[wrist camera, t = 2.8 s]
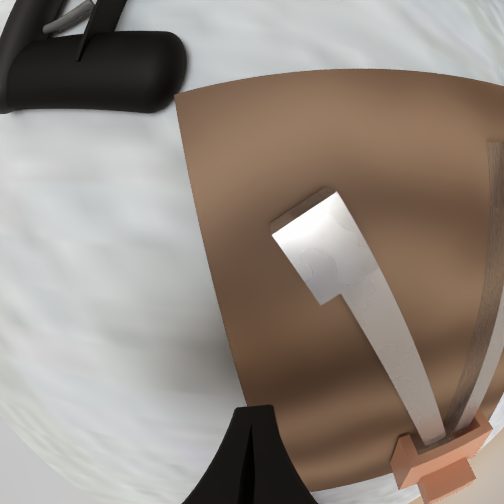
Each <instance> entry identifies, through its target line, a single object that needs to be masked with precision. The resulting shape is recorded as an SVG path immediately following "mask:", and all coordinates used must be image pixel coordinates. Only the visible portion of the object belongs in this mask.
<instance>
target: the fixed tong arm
mask: <svg viewBox="0 0 504 504" xmlns="http://www.w3.org/2000/svg"><path fill="white" fill-rule="evenodd" d="M487 152H488V164H489V183H490V220H489V239H488V251H487V261H486V270H485V277H484V284H483V290H482V296H481V302H480V307H479V312H478V317H477V321H476V325H475V330H474V334H473V338H472V342H471V345H470V349H469V352H468V356H467V359H466V362H465V366H464V369H463V372H462V375H461V378H460V381H459V384H458V386H457V389H456V392H455V395H454V397H453V400H452V402H451V405H450V407H449V410H448V412H447V414H446V417H445V419H444V421H443V426H444V429H445V433H446V436H445V437H443V438H442V439H440V440H438V441H437V442H438V444H439V446H442V445H444V444H446V443H449V442H451V441H453V440H455V439H457V438H459V437H461V436H463V435H465V433H466V431H467V429H468V428H469V426H470V424H471V422H472V420H473V418H474V416H475V414H476V412H477V410H478V408H479V406H480V404H481V402H482V400H483V398H484V396H485V393H486V391H487V389H488V387H489V384H490V382H491V379H492V377H493V375H494V372H495V369H496V367H497V364H498V362H499V359H500V356H501V353H502V350H503V347H504V143H499V142H487Z"/></svg>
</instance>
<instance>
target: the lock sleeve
mask: <svg viewBox="0 0 504 504" xmlns="http://www.w3.org/2000/svg"><path fill="white" fill-rule="evenodd" d="M492 429H493V428H492V426H491V425H490V423H489V422H488V420H487V419H486V417H485V416H484V414H483V413H482V411H481V410H480V408H478V410H477V412H476V414H475V416H474V418H473V420H472V422H471V424H470V426H469V428H468V429H467V431H466V433H465V435H463V436H461V437H459V438H457V439H455V440H453V441H451V442H449V443H446V444H444V445H442V446H440V447H437V448H435V449H433V450H430V451H428V452H425V453H423V454H420V455H418V453H417V451H416V448H415V446H414V444H413V442H412V439H411V437H410V435H407V436H404V437H401V438H399V440H398V443H397V446H396V448H395V451H394V454H393V457H392V459H391V462H390V465H391V468H392V471H393V474H394V477H395V480H396V483H397V486H398V489H399V490H401V489H403V488H406V487H409V486H412V485H414V484H417V485H418V488H419V490H420V493H421V496H422V498H423V501H424V504H432V503H435V502H437V501H439V500H441V499H444V498H445V497H448V496H449V495H451V494H454V493H455V492H458V491H460V490H461V489H463V488H465V487H467V486H469V485H470V484H471V483H472V482H473V481H474V480H475V479H476V477H475V475H474V473H473V471H472V469H471V467H470V465H469V463H468V461H467V460H469V459H470V458H472V457H474V456H475V455H476V453H477V452H478V451H479V449H480V448H481V446H482V445H483V443H484V442H485V440H486V439H487V437H488V436H489V434H490V433H491V431H492Z"/></svg>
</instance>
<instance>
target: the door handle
mask: <svg viewBox="0 0 504 504" xmlns="http://www.w3.org/2000/svg"><path fill="white" fill-rule="evenodd" d="M62 1H63V0H16V2H15V4H14V6H13V8H12V11H11V13H10V15H9V17H8V20H7V22H6V25H5V27H4V29H3V32H2V35H1V37H0V114H7V113H10V112H13V111H15V110H24V109H98V110H115V111H128V112H139V113H153V112H156V111H158V110H160V109H161V108H163V107H164V106H165V105H166V104H168V103H169V101H170V100H171V99H172V98H173V97H174V95H175V94H176V92H177V90H178V88H179V86H180V84H181V82H182V79H183V76H184V72H185V66H186V53H185V48H184V45H183V43H182V41H181V40H180V38H179V37H178V36H176V35H175V34H173V33H171V32H166V31H115V28H116V26H117V23H118V20H119V18H120V15H121V13H122V11H123V8H124V6H125V4H126V1H127V0H97V2H96V5H95V4H94V3H93V2H92V0H86V1H84V2H83V3H82V4H80V5H79V6H77V7H76V8H74V9H73V10H71V11H70V12H68V13H67V14H65V15H64V16H62V17H60V18H59V19H57V20H55V21H54V19H55V17H56V14H57V12H58V10H59V7H60V5H61V3H62ZM92 8H94V9H93V11H92V14H91V16H90V19H89V21H88V24H87V26H86V29H85V31H84V34H77V35H69V36H62V37H56V38H50V39H47V37H48V34H49V33H51V32H54V31H56V30H58V29H60V28H62V27H64V26H66V25H67V24H69V23H71V22H72V21H74V20H76V19H77V18H79V17H80V16H82V15H83V14H85V13H86V12H88V11H89V10H91V9H92Z"/></svg>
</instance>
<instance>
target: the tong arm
mask: <svg viewBox="0 0 504 504" xmlns="http://www.w3.org/2000/svg"><path fill="white" fill-rule="evenodd" d="M270 228H271V233H272V236H273V237H274V239H275V240H276V242H277V243H278V245H279V246H280V247H281V249H282V250H283V252H284V253H285V255H286V256H287V257H288V259H289V260H290V262H291V263H292V265H293V266H294V267H295V269H296V270H297V272H298V273H299V275H300V276H301V278H302V279H303V281H304V282H305V283H306V285H307V286H308V288H309V289H310V291H311V292H312V294H313V295H314V297H315V298H316V300H317V301H318V303H319V304H320V305H323V304H324V303H326V302H328V301H329V300H331V299H332V298H334V297H335V296H337V295H339V294H340V293H341V295H342V296H343V298H344V300H345V301H346V303H347V305H348V306H349V308H350V309H351V311H352V313H353V314H354V316H355V318H356V319H357V321H358V323H359V325H360V326H361V328H362V330H363V331H364V333H365V335H366V336H367V338H368V340H369V342H370V343H371V345H372V347H373V349H374V350H375V352H376V354H377V356H378V357H379V359H380V361H381V363H382V364H383V366H384V368H385V370H386V372H387V373H388V375H389V377H390V379H391V381H392V383H393V384H394V386H395V388H396V390H397V392H398V394H399V396H400V397H401V399H402V401H403V403H404V405H405V407H406V409H407V411H408V413H409V415H410V417H411V419H412V420H413V422H414V424H415V426H416V428H417V430H418V432H419V434H420V436H421V438H422V440H423V442H424V445H425V447H426V448H427V447H429V446H430V445H432V444H434V443H435V442H437V441H438V440H440V439H442V438H443V437H445V436H446V433H445V429H444V426H443V422H442V419H441V416H440V413H439V409H438V406H437V403H436V400H435V397H434V394H433V391H432V389H431V386H430V383H429V380H428V377H427V375H426V372H425V369H424V367H423V364H422V361H421V359H420V356H419V354H418V351H417V349H416V346H415V344H414V341H413V339H412V337H411V334H410V332H409V329H408V327H407V325H406V323H405V320H404V318H403V316H402V313H401V311H400V309H399V307H398V305H397V303H396V300H395V298H394V296H393V294H392V292H391V290H390V288H389V286H388V284H387V282H386V280H385V278H384V276H383V273H382V272H381V270H380V268H379V266H378V264H377V262H376V260H375V258H374V256H373V254H372V252H371V250H370V248H369V246H368V245H367V243H366V241H365V239H364V237H363V235H362V234H361V232H360V230H359V228H358V226H357V225H356V223H355V221H354V219H353V218H352V216H351V214H350V212H349V211H348V209H347V207H346V206H345V204H344V202H343V201H342V199H341V197H340V196H339V194H338V192H337V191H334V190H332V189H330V188H328V187H324V188H322V189H321V190H319V191H318V192H316V193H314V194H313V195H311V196H310V197H308V198H307V199H305V200H304V201H302V202H301V203H299V204H298V205H296V206H295V207H293V208H292V209H290V210H289V211H287V212H286V213H284V214H283V215H281V216H280V217H278V218H277V219H276V220H274V221H273V222H271V223H270Z"/></svg>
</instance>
